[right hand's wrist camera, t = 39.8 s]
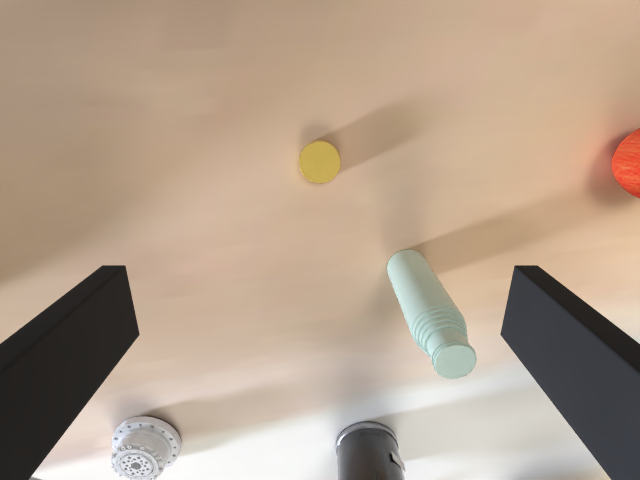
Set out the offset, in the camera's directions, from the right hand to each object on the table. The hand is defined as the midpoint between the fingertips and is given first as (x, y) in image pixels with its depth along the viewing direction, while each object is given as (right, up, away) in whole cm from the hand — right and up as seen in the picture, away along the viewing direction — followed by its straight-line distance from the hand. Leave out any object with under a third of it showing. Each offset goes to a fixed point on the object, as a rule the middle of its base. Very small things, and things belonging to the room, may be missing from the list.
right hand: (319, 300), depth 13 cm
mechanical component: (-26, -28, +44) cm, 59 cm away
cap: (0, +11, +28) cm, 30 cm away
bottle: (+11, -1, +34) cm, 36 cm away
